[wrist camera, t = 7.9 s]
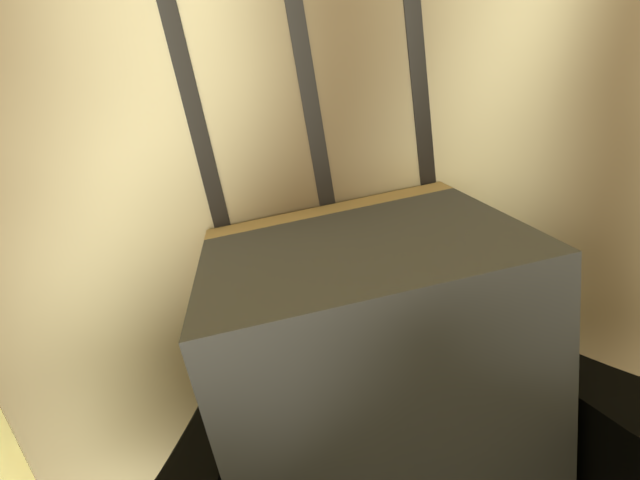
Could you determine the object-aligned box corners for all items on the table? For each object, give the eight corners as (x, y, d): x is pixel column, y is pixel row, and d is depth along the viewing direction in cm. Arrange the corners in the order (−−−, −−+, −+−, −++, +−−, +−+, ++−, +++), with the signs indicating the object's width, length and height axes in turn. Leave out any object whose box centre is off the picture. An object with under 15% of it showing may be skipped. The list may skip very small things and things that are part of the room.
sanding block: (440, 181, 9) (581, 251, 5) (466, 492, 12) (572, 686, 8) (206, 230, 9) (178, 342, 5) (289, 540, 11) (311, 769, 8)
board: (660, -356, 8) (708, -406, 7) (611, 480, 14) (633, 504, 13) (-279, -263, 6) (-353, -313, 6) (125, 614, 12) (117, 650, 12)
